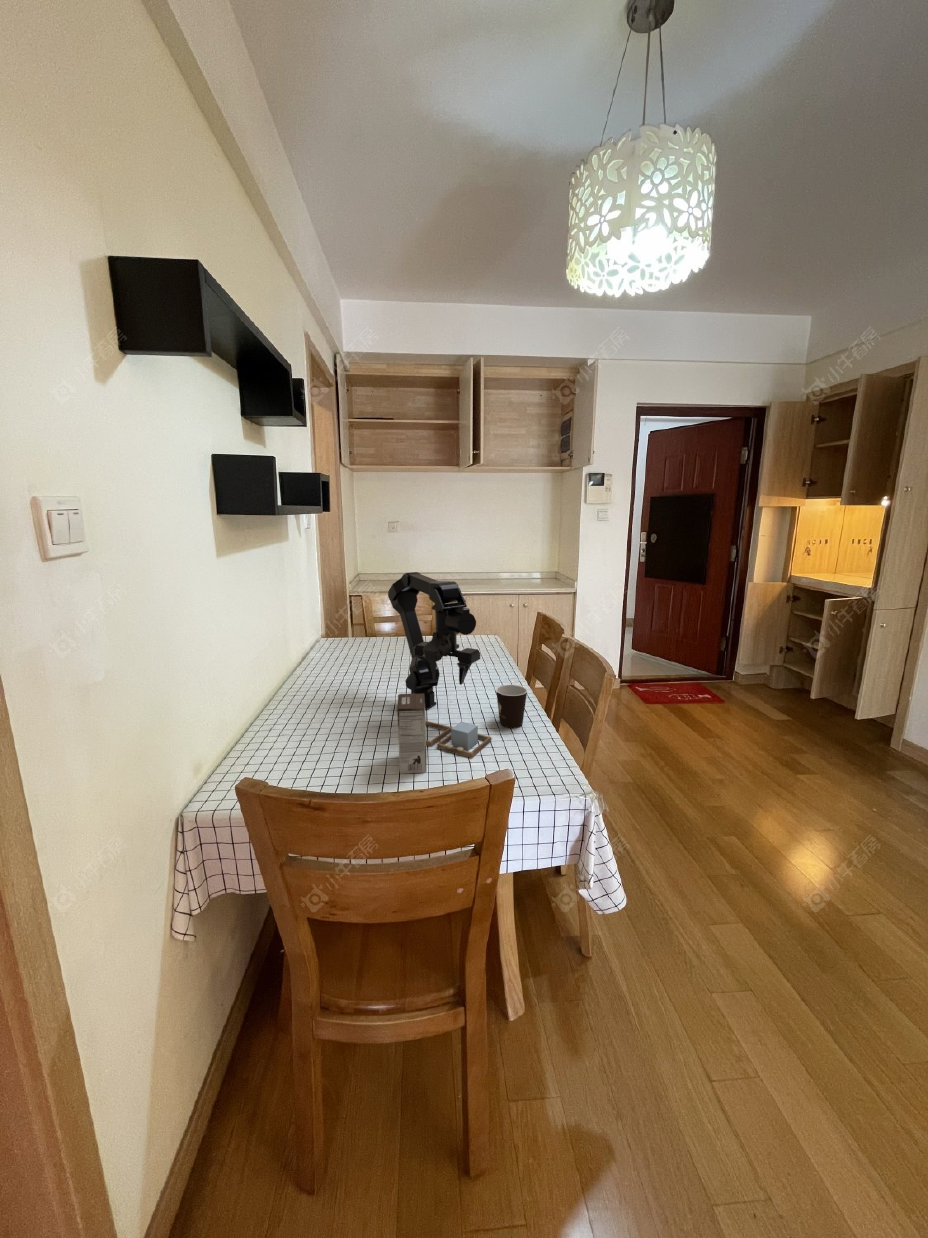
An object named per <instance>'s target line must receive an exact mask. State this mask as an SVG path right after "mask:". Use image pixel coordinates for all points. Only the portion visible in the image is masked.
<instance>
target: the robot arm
mask: <svg viewBox="0 0 928 1238" xmlns="http://www.w3.org/2000/svg"><path fill="white" fill-rule="evenodd" d="M420 592H421V593H424V594H425V595H428V598H429V601H431V602H432V603H434V604H433V605H432V606H431V609H432V610H433V611H434V612H435V614H434V615H435V617H434V618H435V619H434V620H435V631H433V632H432V638H431V640H429V641H425V640H424V637H423V633H422V630H421V626H420V622H419V619H418V616H417V611H416V607H417V604H418V595H419V593H420ZM387 596H388V597H387V598H388V600H389V601H390V604H391V606H392V608H393V609H394V610H395V611H396V613H398V614H399V617H400V620H401V623H402V627H403V632H404V633H405V638H406V641H407V644H408V649H409V653H410V657H411V660H410V665H409V675H408V676H407V678H406V679H405V688H407V689H409V690H410V694H424V696H425V711H427V710H429V709H430V708H432V707H434V706H435V705H437V701H435V691H434V687H437V686H438V684H439V679H440V669H439V667H438V664H437V662H439V661H441V660H442V658H443V657H454V658H457V661H458V662H457V663H456V665H457V667H458V682H459V683H458V684H459V685H461V686H462V685H463V684H464V681H465V679H466V676H467V674H468V672H469V669H470V667H471V666H472V664H475V663H476V662H478V661H480V660H481V652H480V650H479V649H478V648H471V647H466V648H464V649H461V650H459V649H460V644H459V643H457V642H458V641H457V635H458V634H461V635H465V636H468V635H470V634H472V633H473V632H474V631H475V629H476V626H477V619H476V617H475V616H474V614H472V613H470V608H469V607H467V606H468V605H467V602H466V601H467V600H466V599H465V597H464V595H463V593H462V591H461V588H460V587H459V584H458V583H457V582H456V581H452V580H451V581H450V580H444V581H443V580H442V581H441V580H436V579H434V578H431V577H429V576H426V575H423V574H422V573H420V572H418V571H415V572H405V573H403V574H402V576H401V577H400V578H399V579H398V580H396V581H395V582H393V583H392V585H391V586H390V588H389V589H388V591H387Z"/></svg>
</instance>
